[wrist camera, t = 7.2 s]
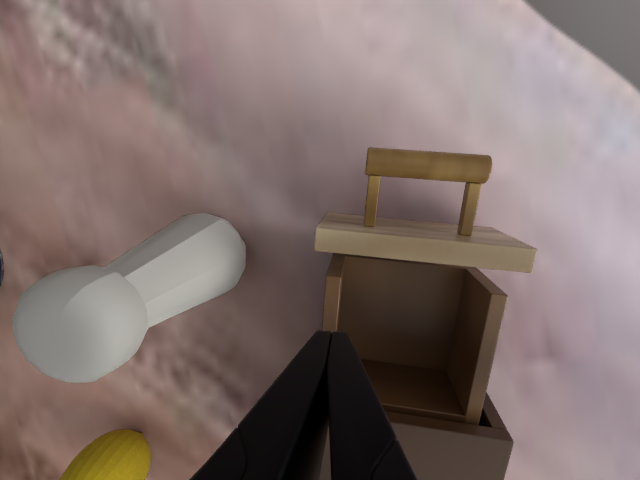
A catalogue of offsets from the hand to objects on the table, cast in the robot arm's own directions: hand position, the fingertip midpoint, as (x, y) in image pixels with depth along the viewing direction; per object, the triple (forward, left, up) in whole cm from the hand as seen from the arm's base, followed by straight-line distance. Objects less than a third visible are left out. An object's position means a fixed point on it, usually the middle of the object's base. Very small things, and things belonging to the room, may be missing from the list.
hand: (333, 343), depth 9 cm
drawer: (+1, -4, -13) cm, 13 cm away
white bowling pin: (-7, +7, -14) cm, 17 cm away
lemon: (-26, +2, -14) cm, 30 cm away
